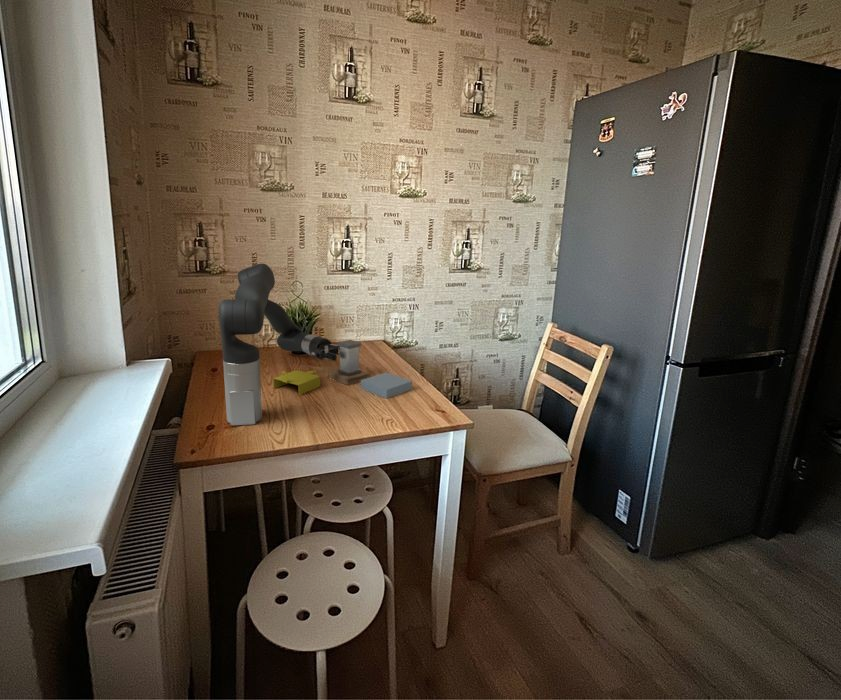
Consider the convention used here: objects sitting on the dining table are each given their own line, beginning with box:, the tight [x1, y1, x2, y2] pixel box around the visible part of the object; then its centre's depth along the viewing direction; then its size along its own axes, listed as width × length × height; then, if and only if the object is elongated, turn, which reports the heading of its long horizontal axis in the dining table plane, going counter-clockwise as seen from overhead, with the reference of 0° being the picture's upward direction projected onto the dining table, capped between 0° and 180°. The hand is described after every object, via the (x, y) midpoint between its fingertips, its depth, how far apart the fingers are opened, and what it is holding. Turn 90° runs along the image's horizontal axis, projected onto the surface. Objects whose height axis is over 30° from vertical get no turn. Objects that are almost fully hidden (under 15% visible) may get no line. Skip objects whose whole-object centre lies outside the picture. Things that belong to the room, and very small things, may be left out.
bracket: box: [273, 369, 321, 396], centre depth 161 cm, size 16×8×15 cm
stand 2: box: [360, 372, 413, 400], centre depth 162 cm, size 12×12×3 cm
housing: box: [337, 339, 362, 377], centre depth 169 cm, size 6×6×11 cm
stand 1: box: [328, 369, 371, 386], centre depth 171 cm, size 10×10×2 cm
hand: (345, 355), depth 170 cm, fingers open, 8 cm apart
